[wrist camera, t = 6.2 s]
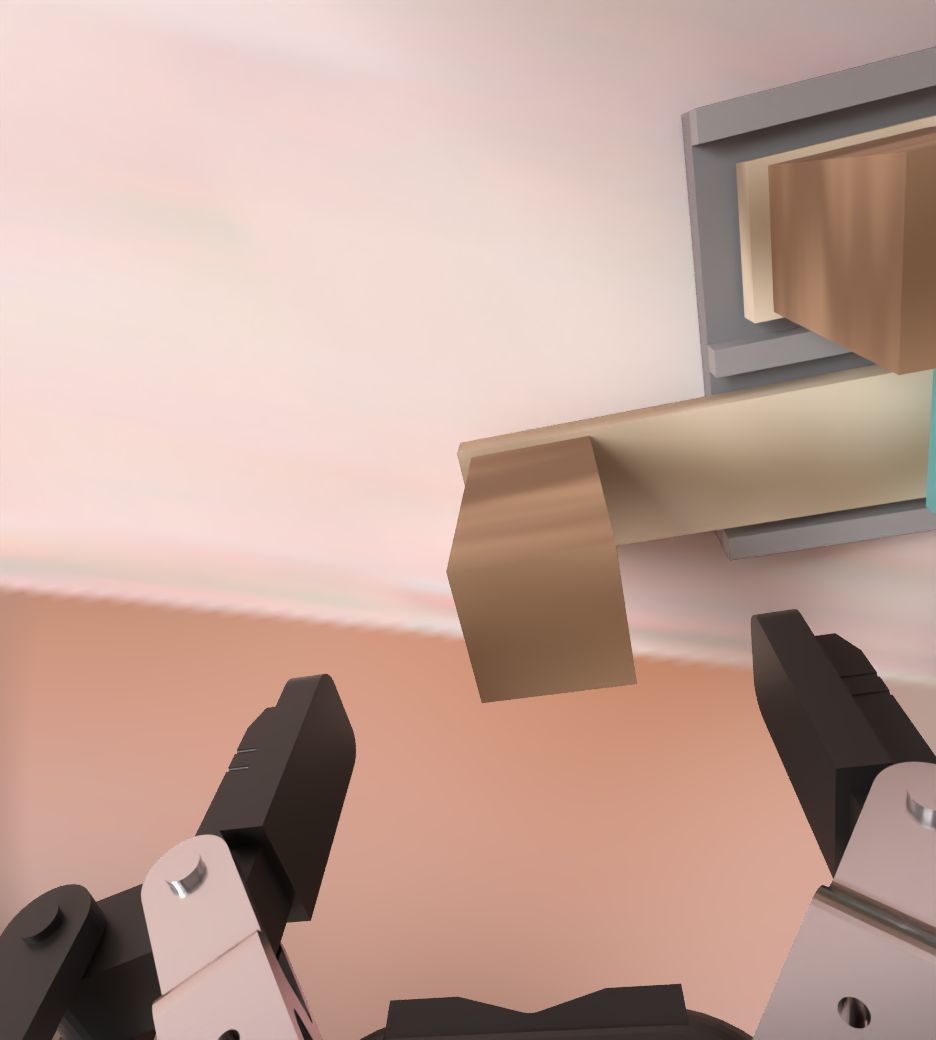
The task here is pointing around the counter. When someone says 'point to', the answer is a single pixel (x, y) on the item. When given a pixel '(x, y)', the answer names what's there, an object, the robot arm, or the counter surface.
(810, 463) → the cube strip
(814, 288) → the short strip
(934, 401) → the teal cube
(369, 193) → the counter surface
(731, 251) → the lane board
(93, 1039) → the robot arm
